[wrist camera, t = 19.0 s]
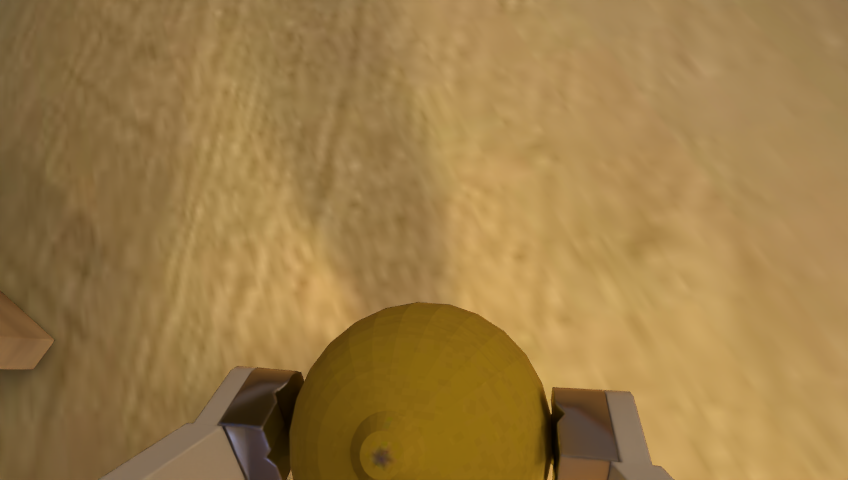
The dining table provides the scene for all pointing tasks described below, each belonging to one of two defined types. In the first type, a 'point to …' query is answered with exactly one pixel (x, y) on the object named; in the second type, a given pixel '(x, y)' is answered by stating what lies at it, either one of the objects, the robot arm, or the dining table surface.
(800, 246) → the dining table surface
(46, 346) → the drawer
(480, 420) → the lemon
